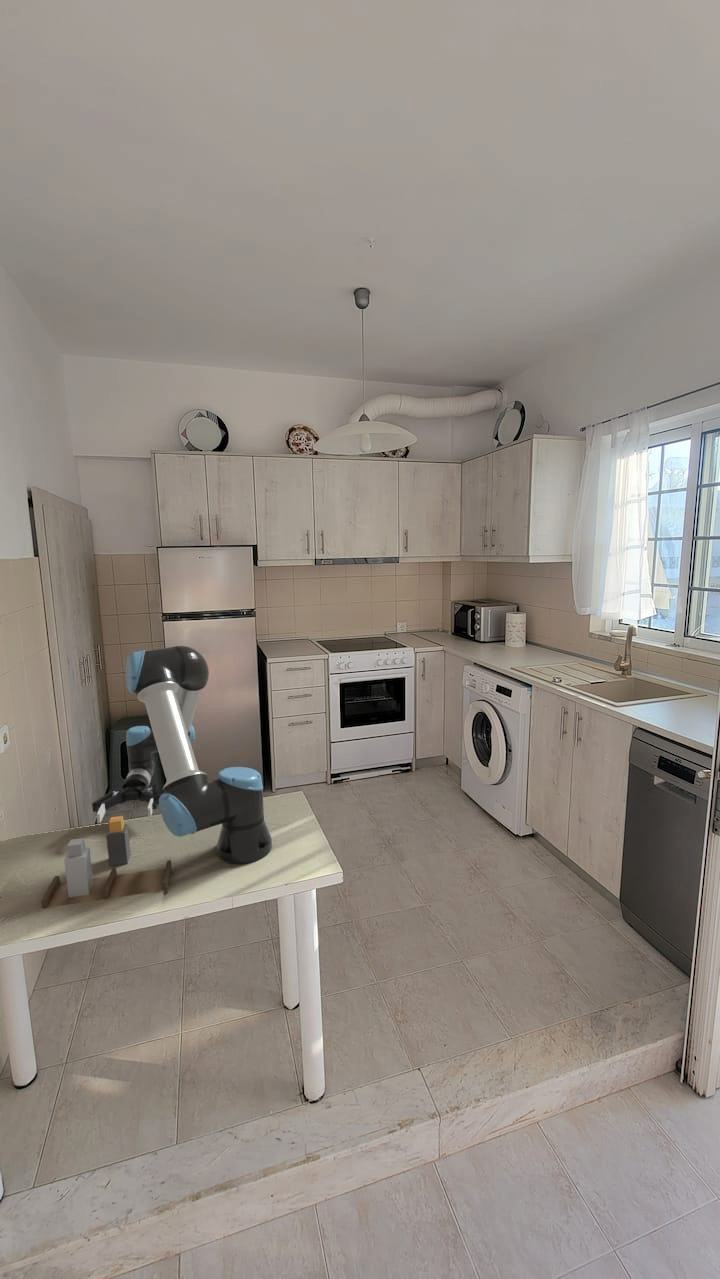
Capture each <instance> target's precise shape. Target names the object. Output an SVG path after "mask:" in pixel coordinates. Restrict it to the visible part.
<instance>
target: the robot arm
mask: <svg viewBox="0 0 720 1279" xmlns="http://www.w3.org/2000/svg"><path fill="white" fill-rule="evenodd" d="M125 663H126V664H125V681H126V689H127V691H128V693H130V694H136V698H137V700H138V701H140V702H141V703H143V704H144V705H145V709H146V711H147V712H146V713H147V716H148V719H149V722H150V723H149V724H150V726H151V730H150V727H149V726H147V725H136V726H133V727H130V728H128V729H127V731H126V732H125V734H126V735H125V737H126V742H125V744H126V749H127V750H126V751H127V756H128V757H127V758H128V773H127V776H126V778H125V781H124V782H123V784H122V787H121V789H120V790H119V791H115V789H110V790H109V791H108V793H106V794H104V795H103V796H101V797H100V798H98V799H96V800H95V801H94V802H92V803H91V806H92V812H93V813H95V816H96V821H97V824H101V822H102V820H103V818H104V816H105V814H106V810H109V809H111V808H112V807H115V806H116V805H118V804H122V805H123V803H126V802H129V801H138V800H139V801H141V802H146V803H148V805H147V817H148V818H151V817H152V816H153V813H154V812H153V811H154V810H156V809H158V806H159V808H160V809H159V810H160V815H161V817H162V821H163V822H164V824H165V827H166V828H167V830H168V831H169V832H170V833H171V834H172V835H174V836H175V837H178V838H179V837H185V836H187V835H188V836H189V835H193V834H195V833H198V832H200V831H203V830H206V829H209V828H212V827H215V826H219V825H221V829H220V831H219V835H218V836H219V837H218V840H217V842H216V852H217V854H216V855H217V856H218V858H219V859H220V860H221V861H223V862H226V863H228V864H237V865H238V864H241V865H242V864H248V863H252V861H253V862H256V861H258V860H260V859H263V858H264V857H266V856H268V854H269V853H270V852H271V851H272V848H273V842H272V841H273V840H272V839H273V838H272V835H271V833H270V831H269V828H268V826H267V824H266V821H265V811H264V809H265V808H264V793H263V792H264V786H263V780H262V776H261V774H260V773H259V772H258V771H257V770H256V769H253V768H252V767H251V768H250V767H244V766H231V767H226V768H224V769H222V770H220V771H218V774H217V778H216V779H213V780H210V781H209V779H208V775H207V773H206V772H204V771H201V770H200V769H199V766H198V764H197V763H198V762H197V760H196V756H195V753H194V750H193V747H192V744H193V743H194V741H195V739H196V731H195V728H194V726H193V725H192V724H193V719H194V717H195V713H196V709H197V707H198V703H199V700H200V696H201V692H202V690H203V689H204V688H206V686H207V684H208V681H209V673H210V672H209V666H208V663H207V660H206V658H204V656H203V655H202V654H201V653H200V652H198V650H196V649H195V648H193V647H190V646H186V645H177V646H168V647H162V648H161V647H160V648H153V649H147V650H145V649H142V650H140V651H134V652H131V653H130V654H128V656H127V659H126V662H125ZM154 753H158V755H159V759H160V763H161V766H162V769H163V773H164V777H165V779H166V781H165V782H166V783H165V784H164V785H163V787H162V792H163V793H162V792H161V791H160V790H159V789H158V788H157V785H156V784H154V785H152V787H149V786H150V783H151V780H152V777H153V776H154V773H155V771H156V770H155V762H154V760H153V754H154Z"/></svg>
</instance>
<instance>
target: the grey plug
mask: <svg viewBox="0 0 720 1279" xmlns="http://www.w3.org/2000/svg"><path fill="white" fill-rule="evenodd" d="M66 847H67V854H66V856H65V857H64V860H63V861H64V868H65V877H66V882H67V886H68V894H69V898H70V897H77V896H84V895H89V894H90V891H91V889H92V886H93V878H94V877H93V876H94V875H93V868H92V858H91V851H90V850H91V849H90V847H89V846H88V847H86V844H85V838H84V837H82V838H74V839H70V840H69V842H68V844H67V846H66Z"/></svg>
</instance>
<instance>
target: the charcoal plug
mask: <svg viewBox="0 0 720 1279" xmlns="http://www.w3.org/2000/svg"><path fill="white" fill-rule="evenodd" d="M108 827H109V828H108V830H107V832H106V836H105V838H106V845H107V846H106V847H107V856H108V863H109V867H115V866H121V865H122V866H123V865H124V866H125V865H128V863H129V861H130V859H131V844H130V836H129V825H128V824H125V821H124V816H123V815H118V816H112V817H110V819H109V821H108Z"/></svg>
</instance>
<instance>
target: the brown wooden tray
mask: <svg viewBox="0 0 720 1279" xmlns="http://www.w3.org/2000/svg"><path fill="white" fill-rule="evenodd" d="M172 867H173V866H172V859H168V860H166V865H165V867H163V868H162V867H161V868H156V869H155V868H154V869H149V870H142V871H134V872H133V871H132V872H128V873H119V874H118V871H117V867H113V868H111V869H110V872H109V875H105V876H99V877H93V886H92V889H91V891H90V894H89V895H84V896H77V897H70V898H69V894H68V886H67V881H66V882H65V881H63V882H61V880H60V875H55V876H54V877H53V879H52V880H51V883H50V884H49V886H48V888H47V889H46V892H45V893H44V895H43V897H42V899H41V907H42V909H46V908H53V907H54V908H55V907H60V906H67V905H73V904H74V905H75V904H80V903H87V902H93V901H94V902H95V901H102V900H106V899H114V898H120V897H128V896H133V895H139V894H140V895H141V894H145V893H147V894H149V893H154V892H160V891H161V892H162V891H163V893H162V894H168V893H169V888H170V883H171V882H170V881H171V877H172V873H173V868H172Z"/></svg>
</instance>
